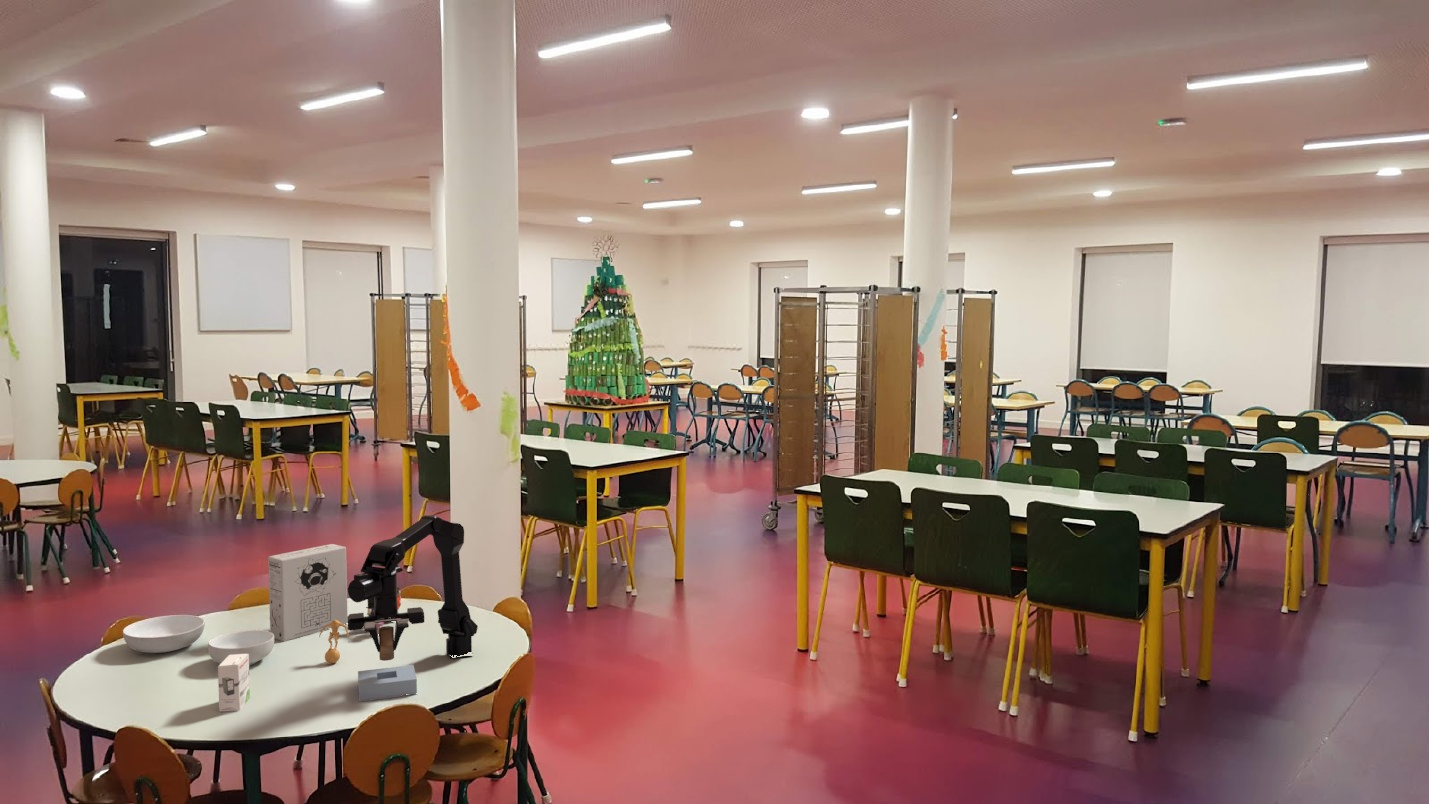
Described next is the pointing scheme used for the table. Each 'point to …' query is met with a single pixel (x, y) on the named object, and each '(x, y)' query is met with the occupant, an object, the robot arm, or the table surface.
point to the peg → (386, 643)
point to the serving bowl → (163, 633)
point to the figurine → (334, 654)
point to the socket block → (386, 682)
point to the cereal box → (307, 591)
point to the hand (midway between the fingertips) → (386, 650)
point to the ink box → (233, 682)
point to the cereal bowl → (241, 645)
